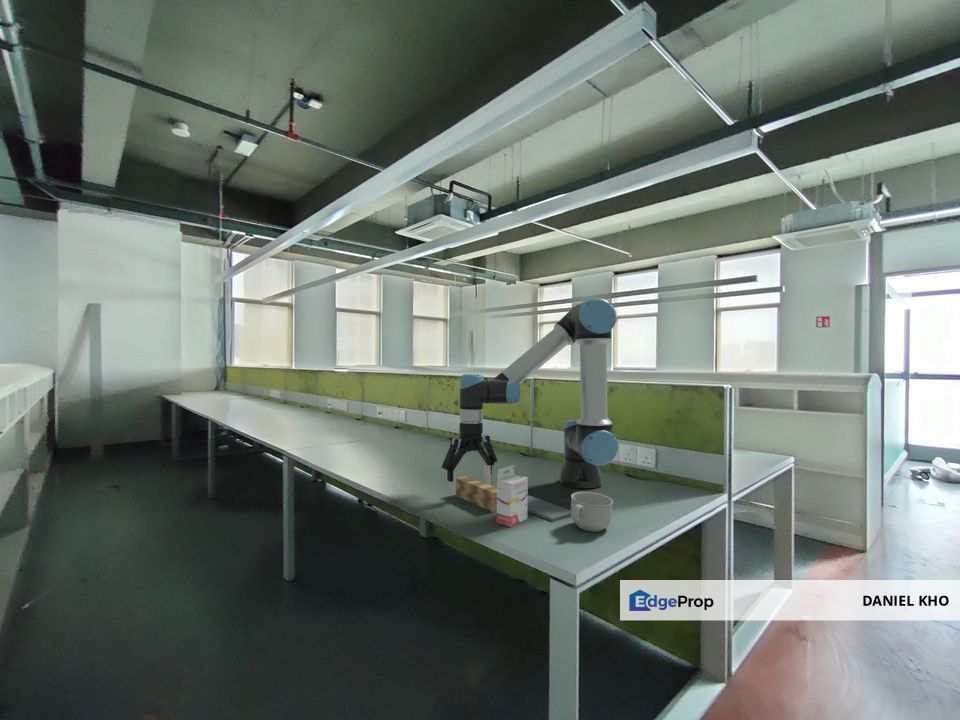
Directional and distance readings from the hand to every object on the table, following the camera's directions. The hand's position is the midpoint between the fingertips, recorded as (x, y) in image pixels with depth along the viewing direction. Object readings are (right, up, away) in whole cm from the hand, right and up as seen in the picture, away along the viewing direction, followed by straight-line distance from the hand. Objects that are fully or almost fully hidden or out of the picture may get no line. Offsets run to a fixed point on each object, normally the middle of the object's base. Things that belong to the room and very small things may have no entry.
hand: (470, 488), depth 135 cm
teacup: (+32, -3, -25) cm, 40 cm away
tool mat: (+20, -3, -8) cm, 22 cm away
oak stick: (+3, -4, -3) cm, 6 cm away
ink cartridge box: (+12, -4, -19) cm, 23 cm away
